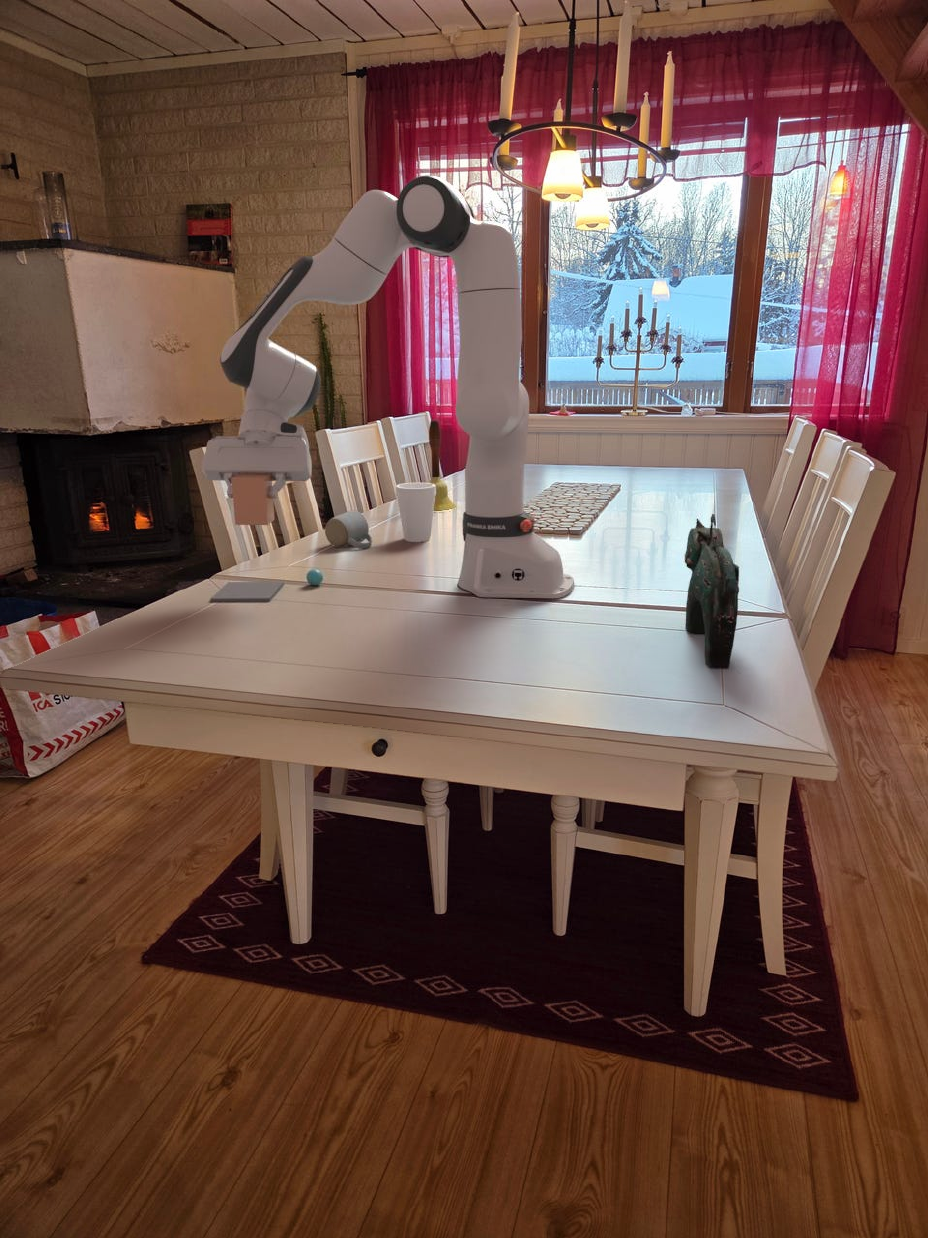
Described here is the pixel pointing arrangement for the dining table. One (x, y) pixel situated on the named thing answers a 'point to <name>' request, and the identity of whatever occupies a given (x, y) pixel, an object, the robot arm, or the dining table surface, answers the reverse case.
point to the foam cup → (416, 510)
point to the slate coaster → (247, 591)
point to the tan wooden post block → (252, 499)
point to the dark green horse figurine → (712, 593)
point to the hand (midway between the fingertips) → (251, 496)
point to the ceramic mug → (348, 530)
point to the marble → (314, 577)
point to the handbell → (441, 488)
